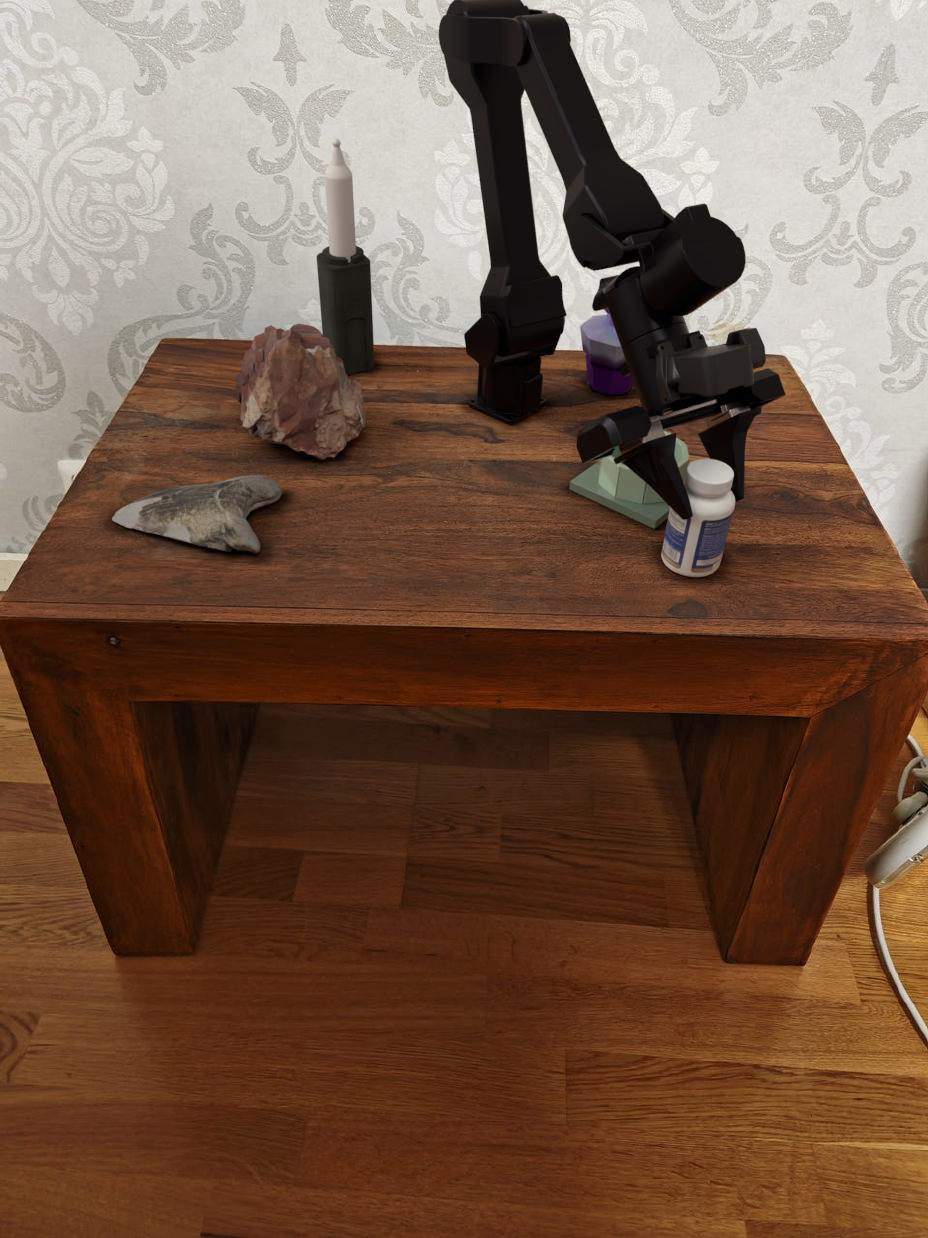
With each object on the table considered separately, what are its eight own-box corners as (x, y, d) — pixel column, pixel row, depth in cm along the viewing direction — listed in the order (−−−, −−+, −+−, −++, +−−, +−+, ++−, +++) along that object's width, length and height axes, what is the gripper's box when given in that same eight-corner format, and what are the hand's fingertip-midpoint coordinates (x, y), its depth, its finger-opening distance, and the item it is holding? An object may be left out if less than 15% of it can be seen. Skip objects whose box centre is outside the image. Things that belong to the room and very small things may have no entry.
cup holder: (568, 489, 97) (573, 450, 94) (623, 450, 103) (629, 412, 100) (654, 529, 92) (662, 489, 89) (707, 485, 98) (715, 447, 95)
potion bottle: (613, 361, 118) (626, 263, 110) (663, 390, 113) (681, 290, 105) (558, 379, 114) (568, 279, 106) (608, 410, 109) (622, 308, 101)
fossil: (122, 457, 93) (274, 451, 92) (138, 493, 97) (285, 488, 95) (86, 538, 86) (251, 532, 84) (105, 574, 89) (264, 569, 88)
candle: (337, 377, 113) (321, 148, 96) (321, 359, 116) (303, 134, 100) (377, 368, 115) (369, 142, 98) (361, 351, 118) (349, 129, 101)
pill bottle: (723, 550, 90) (746, 460, 83) (715, 585, 86) (738, 493, 80) (665, 537, 91) (684, 448, 85) (655, 571, 87) (673, 480, 81)
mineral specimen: (281, 500, 102) (243, 397, 109) (391, 450, 102) (346, 349, 109) (236, 439, 92) (197, 329, 98) (359, 383, 92) (312, 276, 98)
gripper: (614, 321, 72) (682, 519, 72) (798, 277, 79) (860, 457, 79) (547, 373, 82) (607, 546, 83) (715, 330, 89) (771, 489, 90)
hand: (713, 509), depth 83 cm, fingers closed on pill bottle, 5 cm apart
